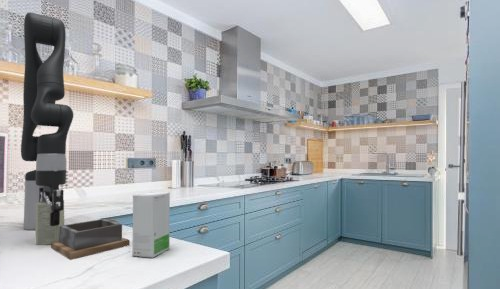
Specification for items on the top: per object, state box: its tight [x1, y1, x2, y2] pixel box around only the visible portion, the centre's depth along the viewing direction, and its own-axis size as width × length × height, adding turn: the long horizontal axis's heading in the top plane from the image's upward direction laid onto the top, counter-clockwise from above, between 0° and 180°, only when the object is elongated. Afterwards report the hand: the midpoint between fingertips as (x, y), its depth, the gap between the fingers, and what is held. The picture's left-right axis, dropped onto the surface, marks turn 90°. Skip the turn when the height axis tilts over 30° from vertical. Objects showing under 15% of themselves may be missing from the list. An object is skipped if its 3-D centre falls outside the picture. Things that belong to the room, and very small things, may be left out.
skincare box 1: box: [35, 199, 65, 246], centre depth 86 cm, size 6×4×12 cm
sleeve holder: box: [50, 218, 130, 260], centre depth 81 cm, size 15×15×6 cm
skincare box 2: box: [131, 191, 171, 259], centre depth 76 cm, size 8×7×16 cm
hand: (49, 223), depth 86 cm, fingers open, 8 cm apart
